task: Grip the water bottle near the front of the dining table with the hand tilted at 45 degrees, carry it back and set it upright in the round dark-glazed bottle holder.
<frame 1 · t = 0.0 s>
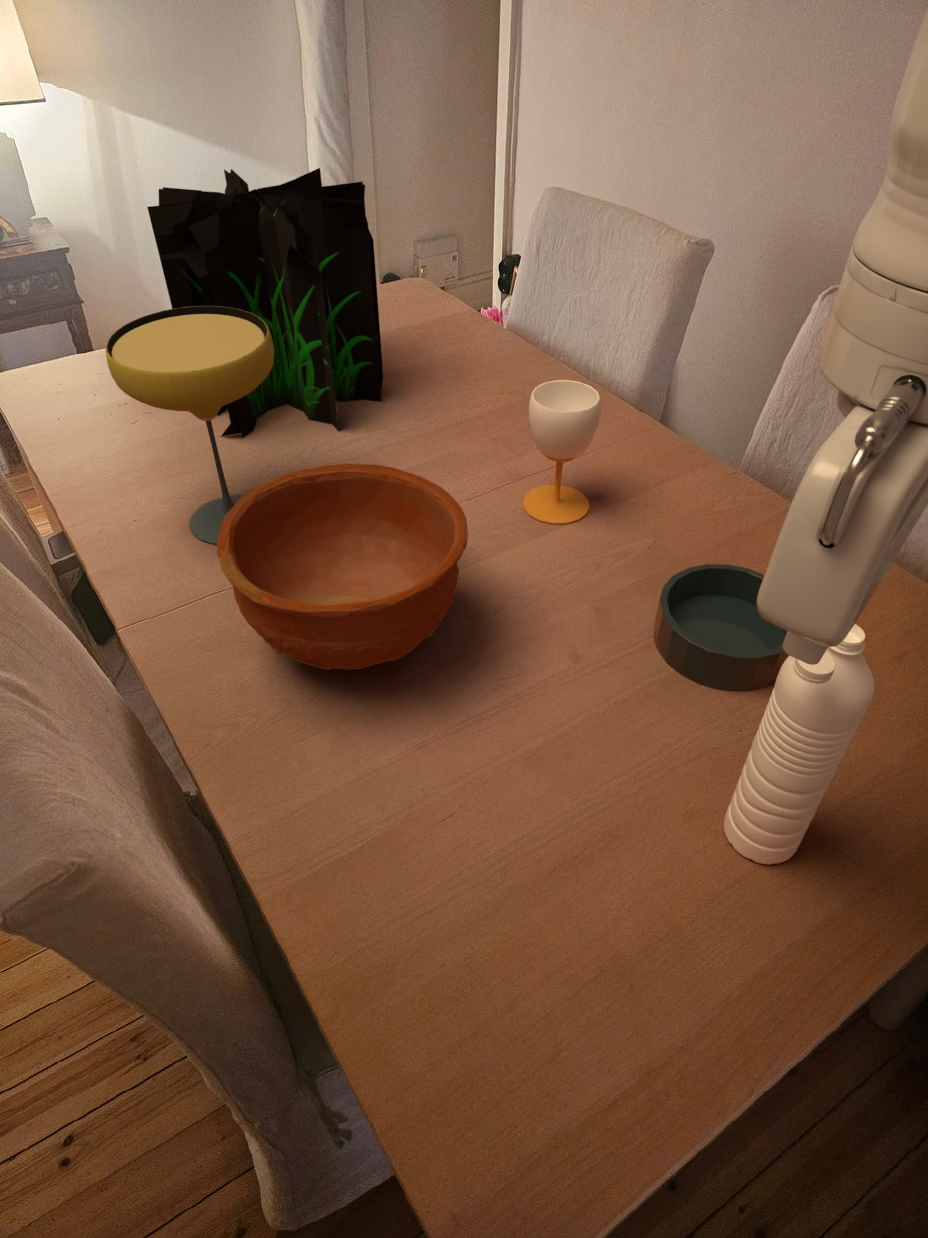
hand: (837, 599, 42), 36 cm above the table, tool pointing down, fingers open, 8 cm apart
holder: (721, 641, 91), on the table
water bottle: (752, 842, 73), on the table
cocktail glass: (232, 521, 108), on the table
decorative plant: (292, 396, 134), on the table
cup: (555, 506, 111), on the table
bowl: (356, 636, 92), on the table
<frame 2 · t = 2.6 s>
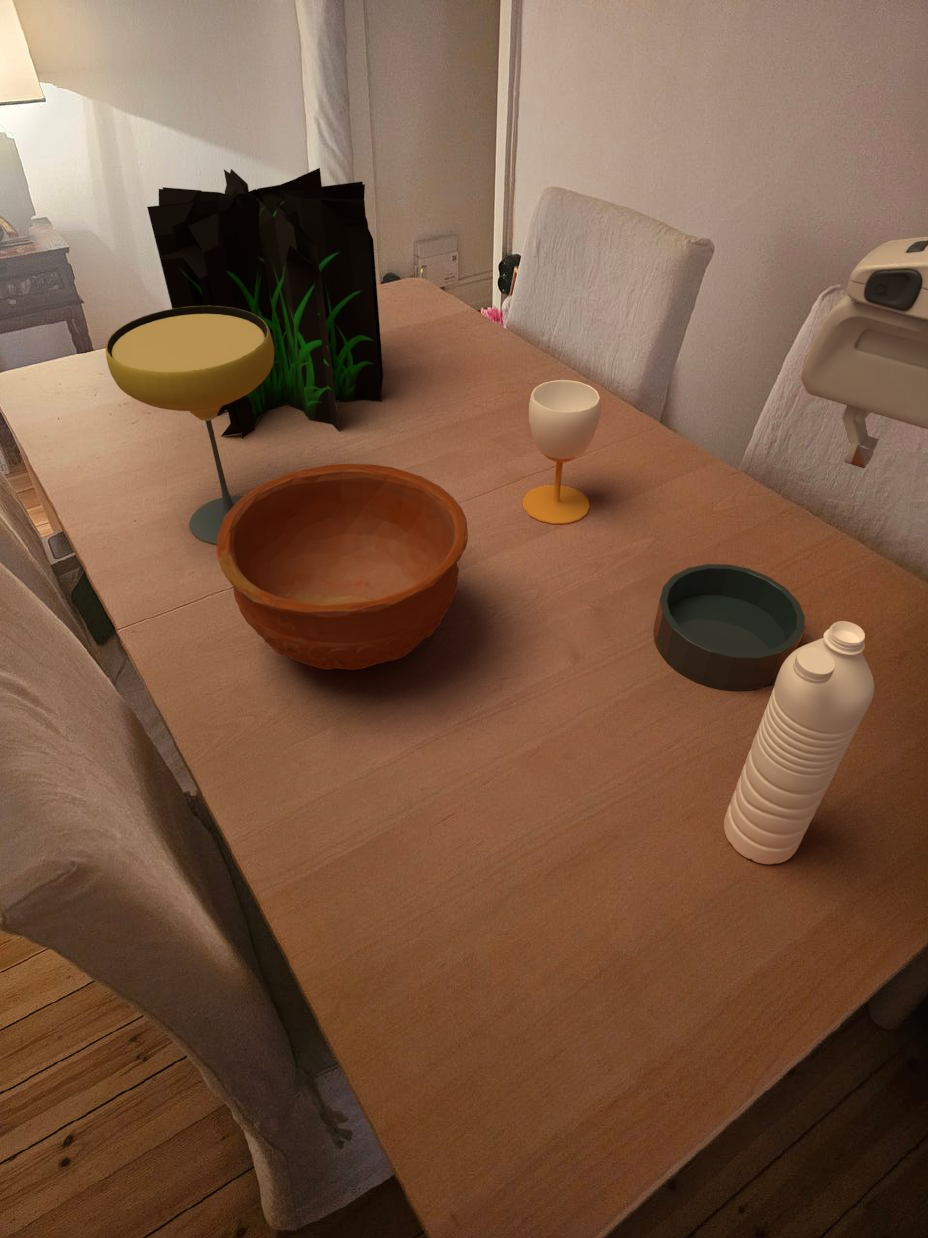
hand: (923, 484, 58), 31 cm above the table, tool pointing down, fingers open, 8 cm apart
nothing on the table moved.
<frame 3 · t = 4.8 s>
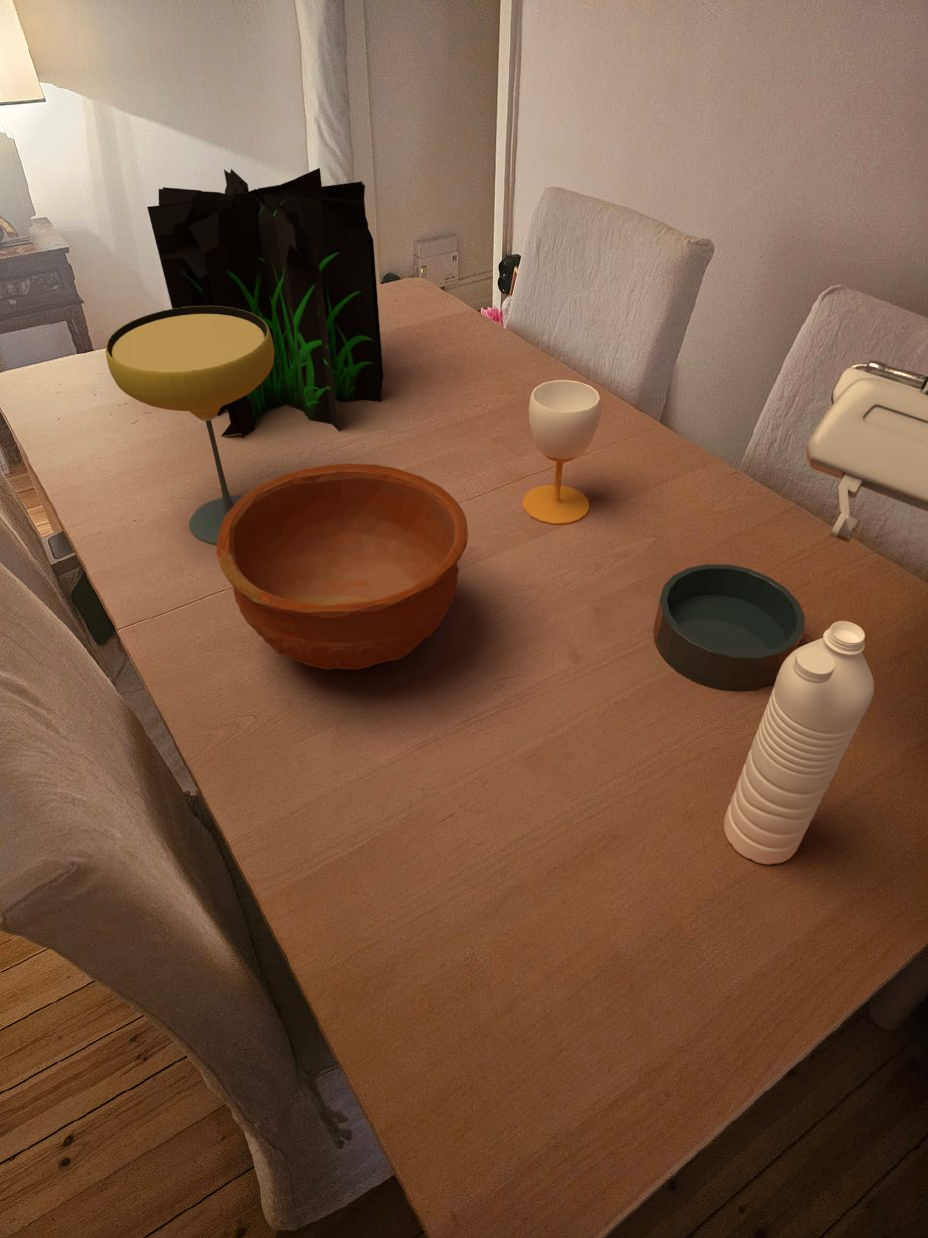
hand: (900, 563, 63), 24 cm above the table, tool tilted 45°, fingers open, 8 cm apart
nothing on the table moved.
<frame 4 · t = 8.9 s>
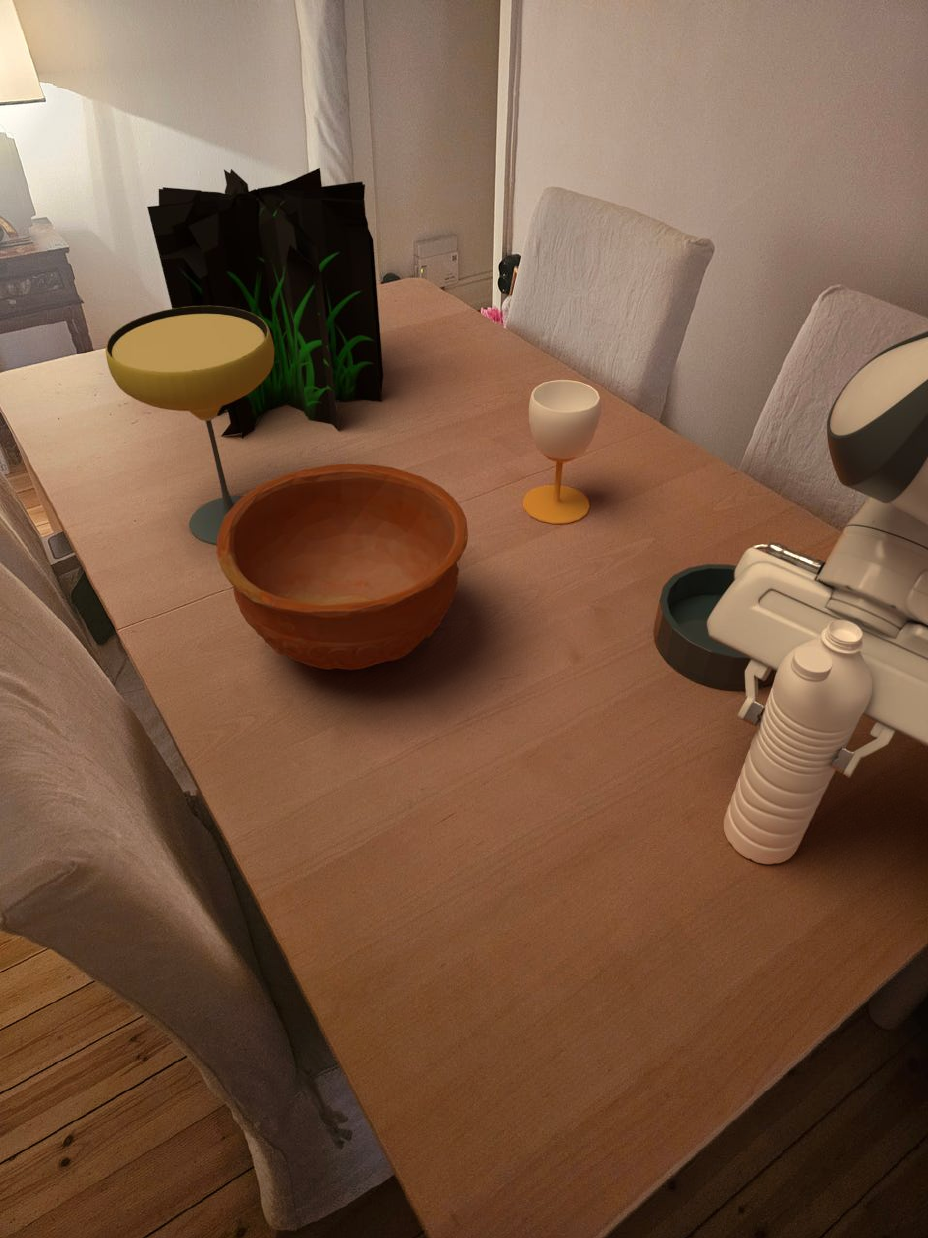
hand: (792, 747, 63), 14 cm above the table, tool tilted 45°, fingers closed on water bottle, 6 cm apart
water bottle: (752, 842, 73), on the table, touching gripper
everything else where it was.
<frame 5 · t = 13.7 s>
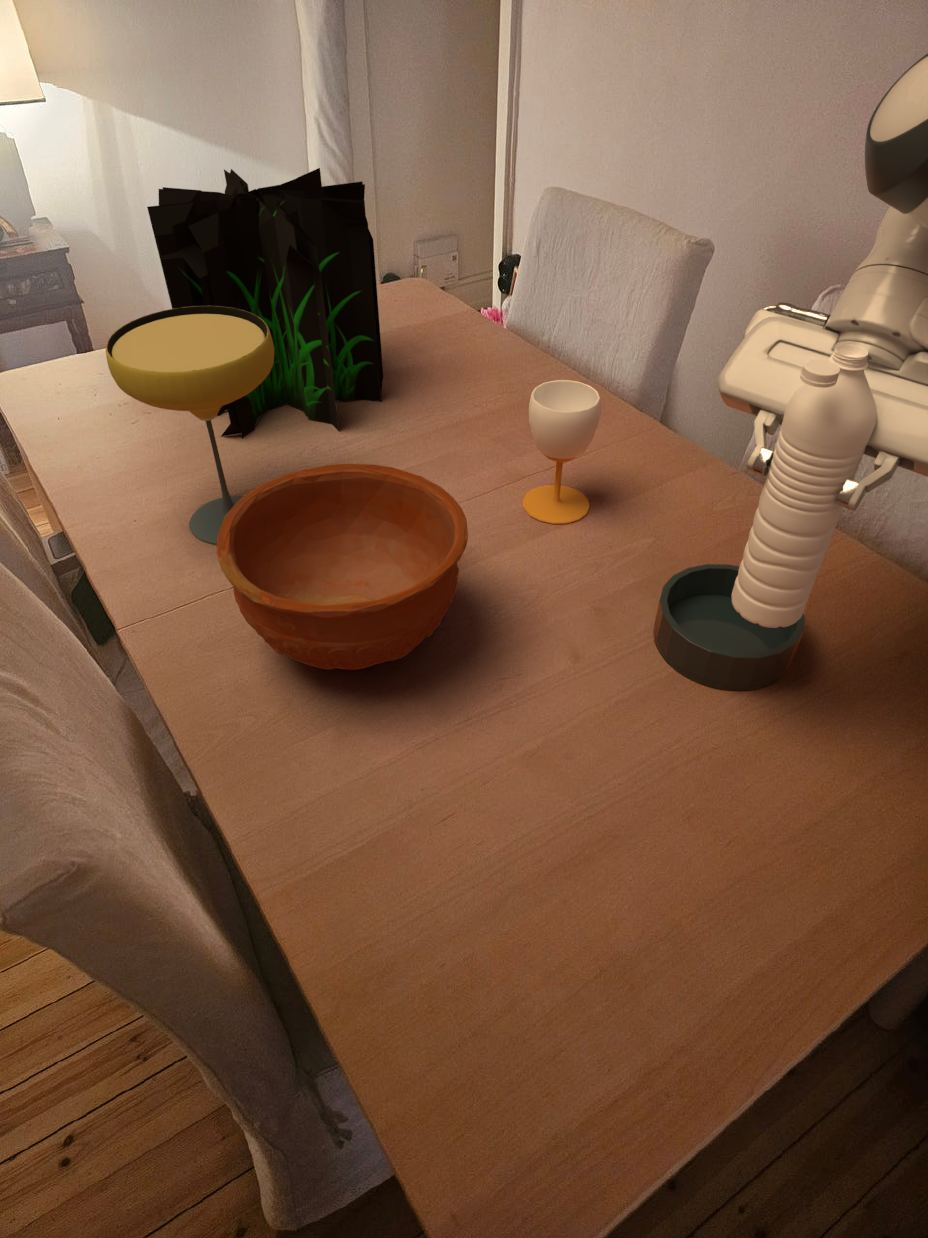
hand: (799, 488, 66), 27 cm above the table, tool tilted 45°, fingers closed on water bottle, 6 cm apart
water bottle: (758, 612, 76), point 13 cm above the table, touching gripper
everything else where it was.
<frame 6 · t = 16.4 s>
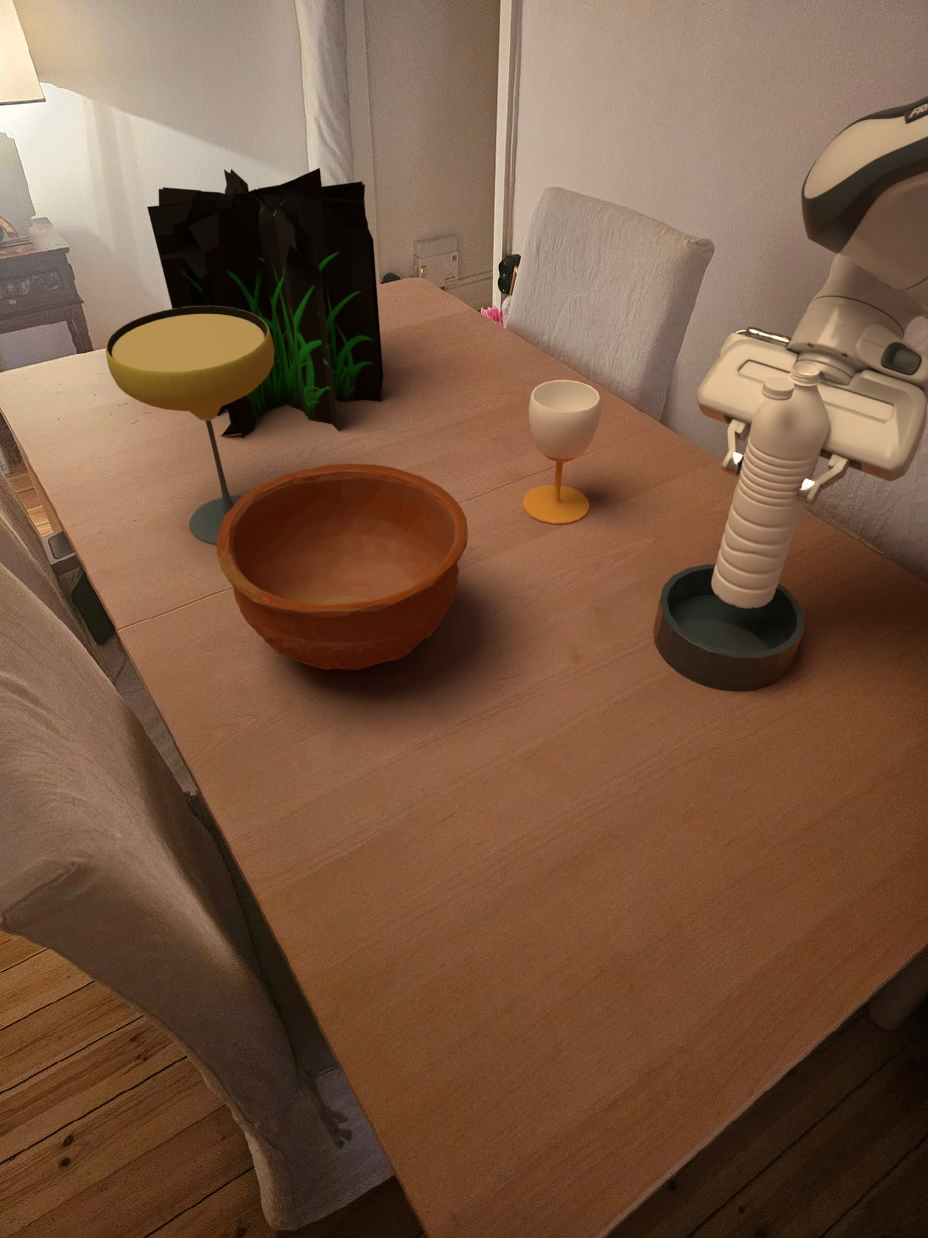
hand: (766, 486, 77), 21 cm above the table, tool tilted 45°, fingers closed on water bottle, 6 cm apart
water bottle: (735, 595, 87), point 7 cm above the table, touching gripper
everything else where it was.
when the fingers open (15 cm above the table, at t = 18.6 s): water bottle stays where it is, resting on holder.
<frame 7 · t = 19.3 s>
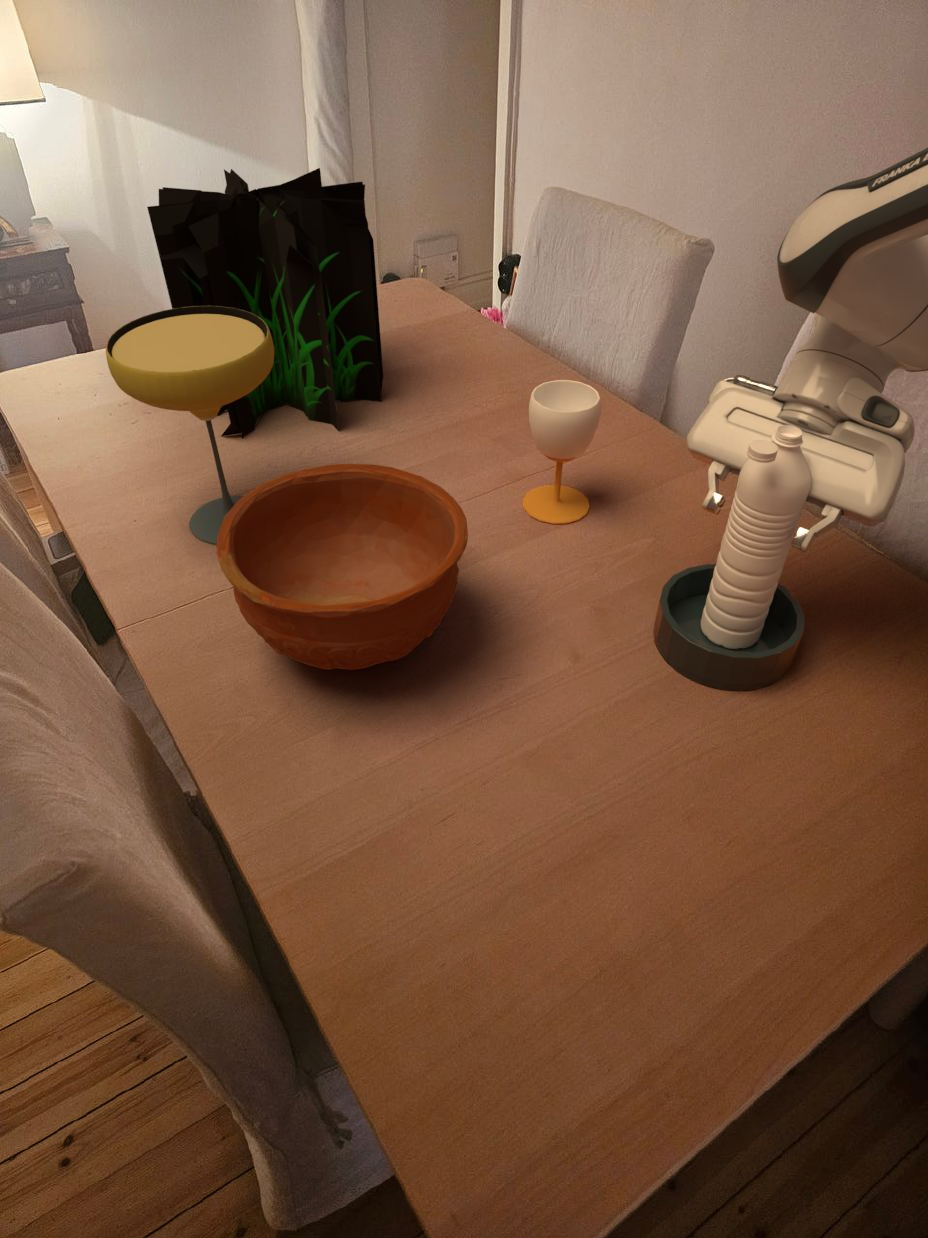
hand: (752, 529, 80), 16 cm above the table, tool tilted 45°, fingers open, 8 cm apart
water bottle: (723, 636, 91), point 1 cm above the table, touching holder
everything else where it was.
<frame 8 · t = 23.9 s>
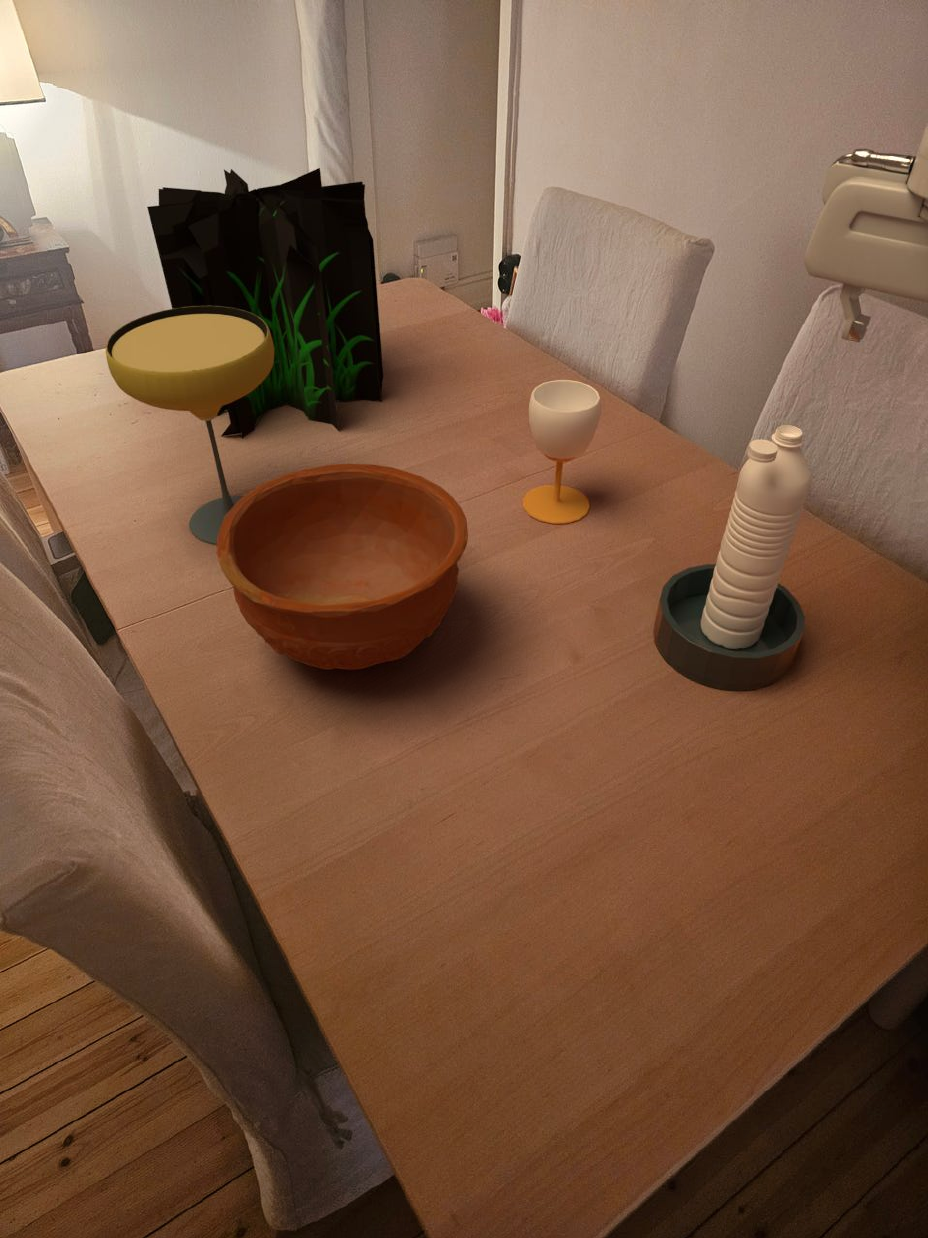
hand: (909, 353, 67), 34 cm above the table, tool pointing down, fingers open, 8 cm apart
nothing on the table moved.
at the end: water bottle 0.0 cm off-centre in the holder, point 0.8 cm above the holder's base; water bottle tilted 0°; the gripper is holding nothing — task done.
